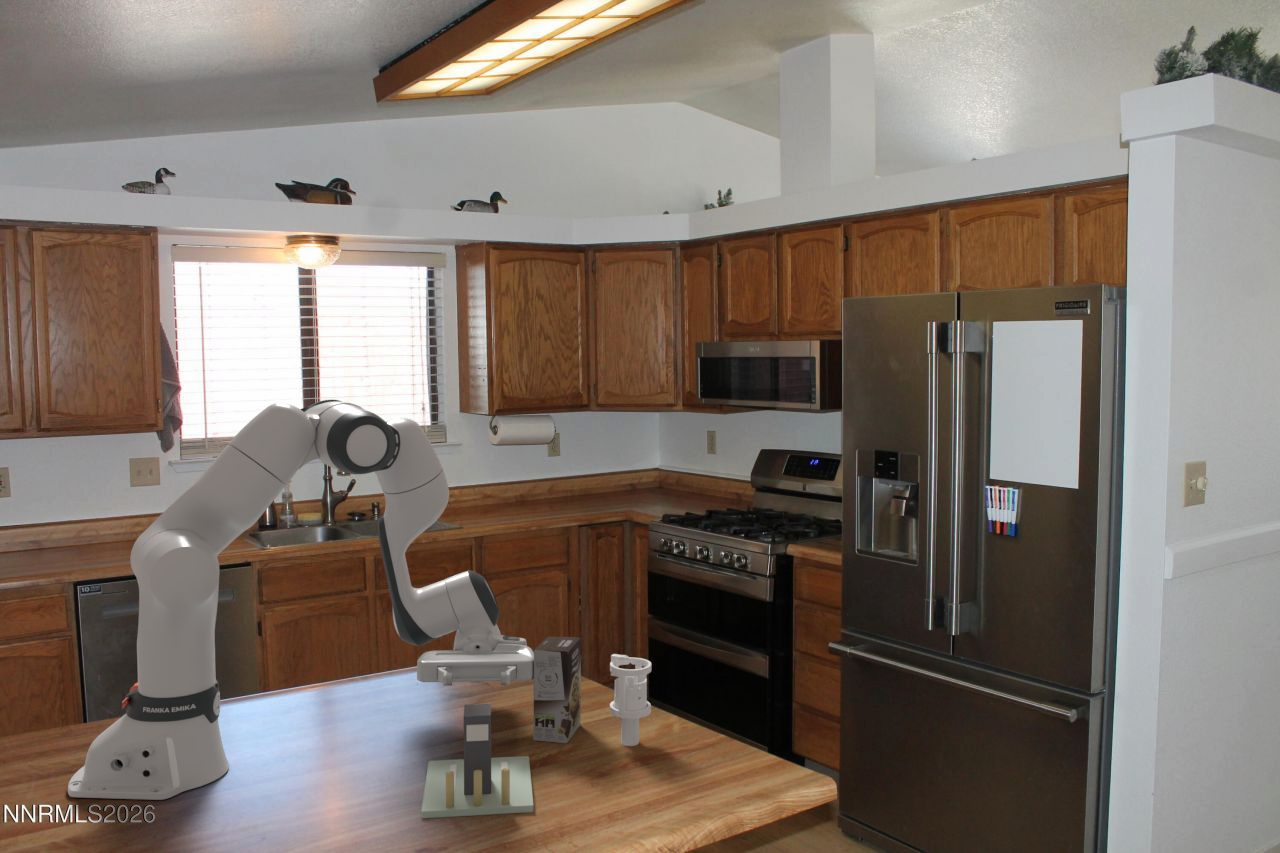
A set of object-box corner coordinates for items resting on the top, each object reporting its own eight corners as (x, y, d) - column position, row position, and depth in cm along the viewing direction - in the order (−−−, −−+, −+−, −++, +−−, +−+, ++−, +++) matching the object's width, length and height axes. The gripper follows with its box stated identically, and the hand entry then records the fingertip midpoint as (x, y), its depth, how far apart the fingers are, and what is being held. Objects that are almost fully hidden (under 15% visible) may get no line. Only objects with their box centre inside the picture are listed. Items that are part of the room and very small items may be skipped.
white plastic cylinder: (620, 732, 179) (621, 648, 178) (657, 739, 176) (658, 654, 175) (602, 746, 173) (602, 659, 172) (639, 753, 170) (640, 665, 169)
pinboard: (421, 818, 146) (421, 777, 146) (428, 766, 164) (428, 730, 163) (533, 811, 148) (533, 772, 148) (528, 761, 166) (528, 726, 166)
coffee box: (568, 744, 174) (568, 651, 172) (532, 741, 175) (532, 649, 174) (582, 724, 183) (582, 636, 181) (547, 722, 184) (547, 634, 183)
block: (464, 795, 151) (463, 717, 150) (464, 780, 156) (464, 704, 155) (491, 794, 152) (491, 715, 151) (491, 779, 157) (491, 703, 156)
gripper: (418, 639, 180) (412, 662, 167) (534, 638, 183) (538, 661, 170) (418, 674, 181) (412, 700, 167) (533, 672, 184) (537, 698, 170)
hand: (476, 680), depth 169 cm, fingers open, 8 cm apart
